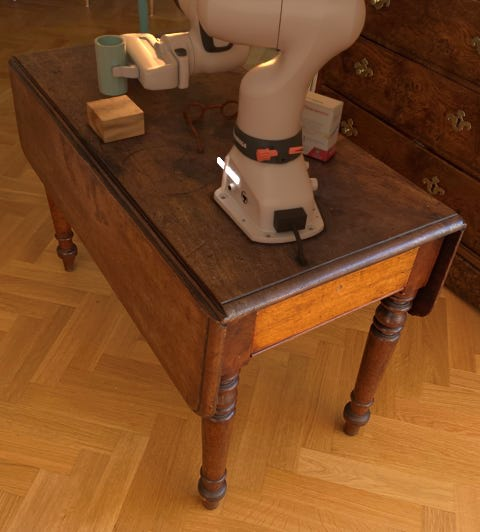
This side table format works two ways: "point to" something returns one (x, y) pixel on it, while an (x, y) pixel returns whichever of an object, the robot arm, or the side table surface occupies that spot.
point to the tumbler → (110, 64)
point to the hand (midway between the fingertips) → (107, 64)
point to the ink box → (320, 125)
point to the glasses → (203, 114)
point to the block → (115, 118)
